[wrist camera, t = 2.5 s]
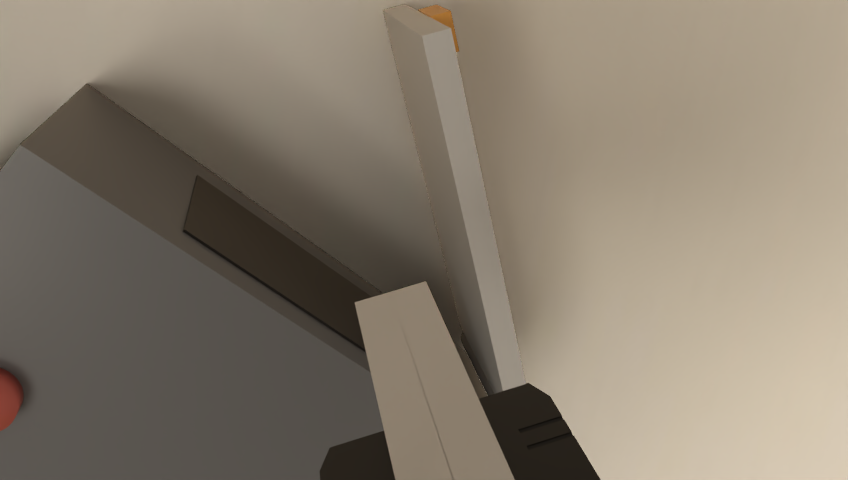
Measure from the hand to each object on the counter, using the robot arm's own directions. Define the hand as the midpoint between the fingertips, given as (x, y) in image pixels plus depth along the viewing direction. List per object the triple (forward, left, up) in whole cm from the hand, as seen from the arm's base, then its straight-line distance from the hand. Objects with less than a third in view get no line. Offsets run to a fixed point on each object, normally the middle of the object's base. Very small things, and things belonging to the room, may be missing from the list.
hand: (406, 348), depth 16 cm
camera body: (+1, -8, -14) cm, 16 cm away
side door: (+4, +2, -14) cm, 14 cm away
